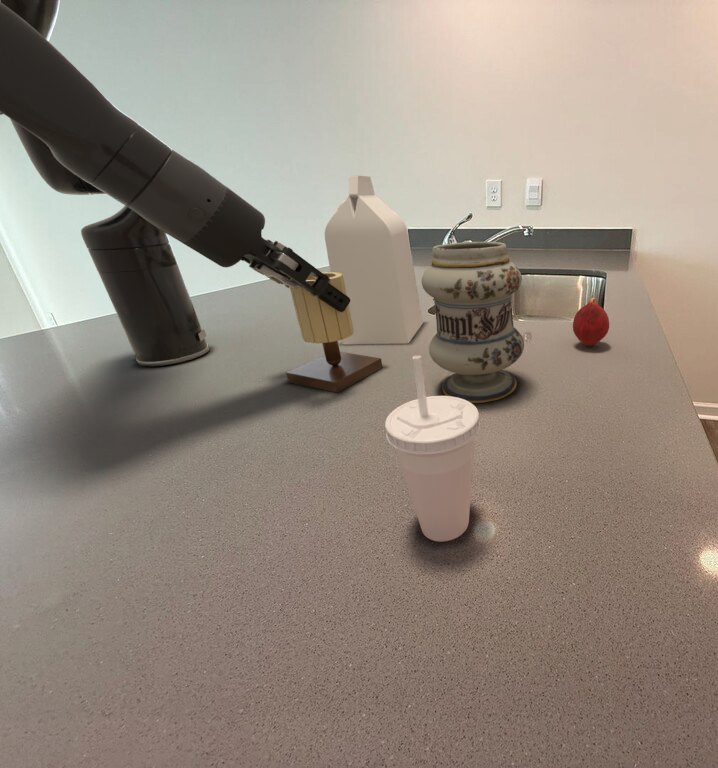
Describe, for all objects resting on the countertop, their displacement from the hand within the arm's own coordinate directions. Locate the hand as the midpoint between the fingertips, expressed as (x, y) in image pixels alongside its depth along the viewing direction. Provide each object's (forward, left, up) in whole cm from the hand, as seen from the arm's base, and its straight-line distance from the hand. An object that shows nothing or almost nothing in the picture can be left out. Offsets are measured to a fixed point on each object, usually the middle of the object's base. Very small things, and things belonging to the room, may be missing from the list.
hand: (333, 301), depth 55 cm
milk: (-7, +16, -11) cm, 21 cm away
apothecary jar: (+20, +2, -10) cm, 23 cm away
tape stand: (-1, -2, -10) cm, 10 cm away
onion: (+30, +22, -11) cm, 39 cm away
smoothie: (+29, -21, -10) cm, 37 cm away
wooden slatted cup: (-1, -2, -4) cm, 5 cm away
